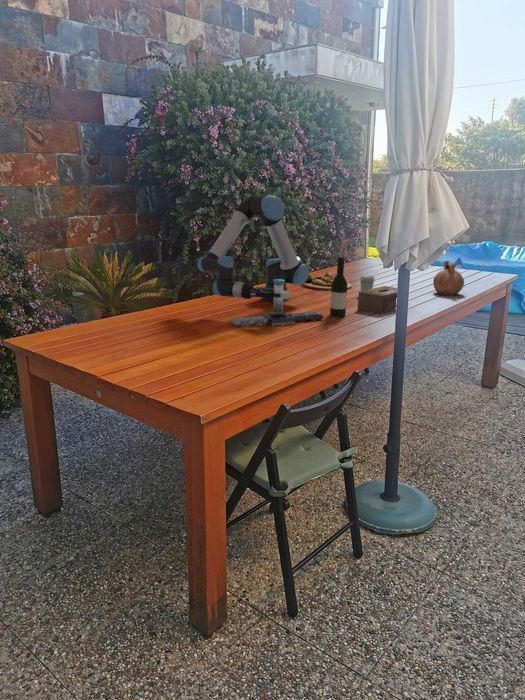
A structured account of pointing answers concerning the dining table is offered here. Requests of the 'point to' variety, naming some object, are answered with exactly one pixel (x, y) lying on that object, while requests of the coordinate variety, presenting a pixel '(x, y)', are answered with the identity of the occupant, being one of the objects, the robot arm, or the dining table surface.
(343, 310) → the wine bottle
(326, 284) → the wooden plate with food
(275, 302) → the steel pin
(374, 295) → the tissue box cover
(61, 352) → the dining table surface
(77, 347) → the dining table surface
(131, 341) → the dining table surface
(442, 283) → the jug
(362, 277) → the coffee cup
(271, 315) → the chain ends
